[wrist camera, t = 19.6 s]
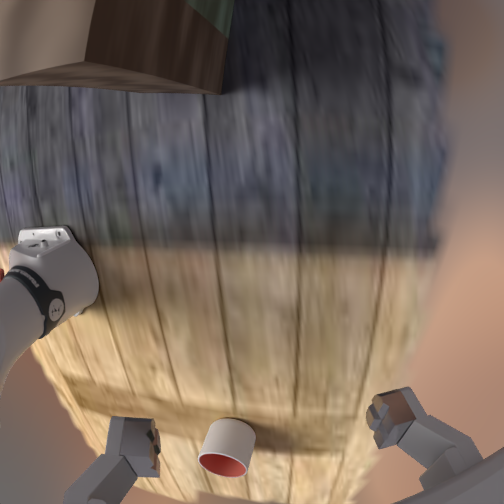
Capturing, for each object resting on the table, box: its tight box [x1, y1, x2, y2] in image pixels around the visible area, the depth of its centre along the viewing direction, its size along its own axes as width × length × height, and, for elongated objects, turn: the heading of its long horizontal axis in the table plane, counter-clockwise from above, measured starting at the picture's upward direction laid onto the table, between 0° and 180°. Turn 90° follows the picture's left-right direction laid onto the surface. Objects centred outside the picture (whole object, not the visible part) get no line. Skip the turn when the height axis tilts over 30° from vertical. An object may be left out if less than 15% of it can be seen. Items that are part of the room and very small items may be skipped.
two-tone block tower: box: [0, 0, 235, 95], centre depth 23 cm, size 12×18×27 cm, turn 173°
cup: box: [198, 418, 256, 478], centre depth 57 cm, size 10×10×10 cm
